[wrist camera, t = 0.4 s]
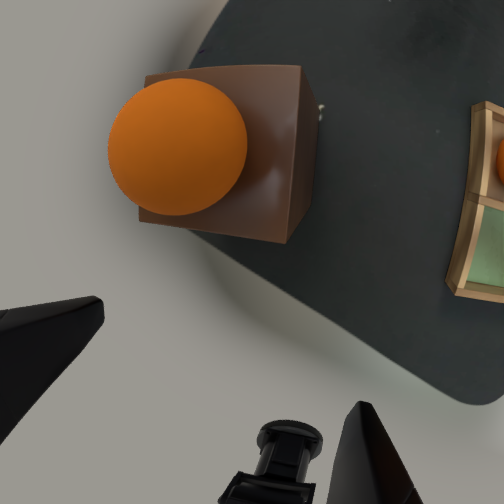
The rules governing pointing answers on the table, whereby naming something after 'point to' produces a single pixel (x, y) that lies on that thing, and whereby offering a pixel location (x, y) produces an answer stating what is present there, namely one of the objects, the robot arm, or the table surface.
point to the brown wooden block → (260, 152)
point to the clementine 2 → (500, 161)
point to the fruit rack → (481, 213)
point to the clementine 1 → (177, 146)
